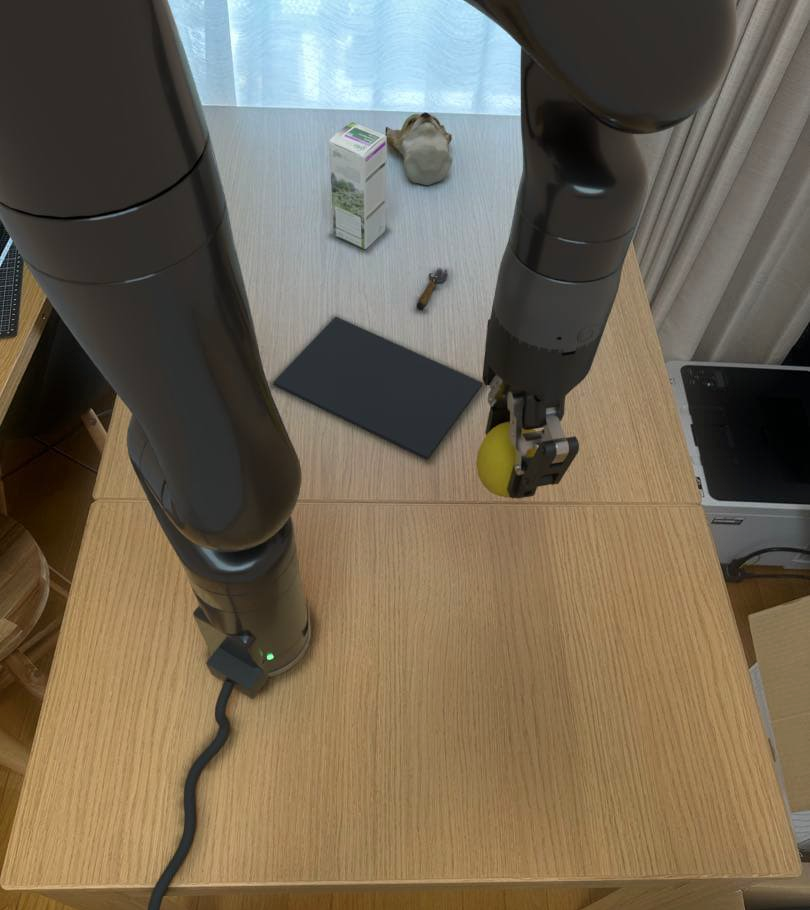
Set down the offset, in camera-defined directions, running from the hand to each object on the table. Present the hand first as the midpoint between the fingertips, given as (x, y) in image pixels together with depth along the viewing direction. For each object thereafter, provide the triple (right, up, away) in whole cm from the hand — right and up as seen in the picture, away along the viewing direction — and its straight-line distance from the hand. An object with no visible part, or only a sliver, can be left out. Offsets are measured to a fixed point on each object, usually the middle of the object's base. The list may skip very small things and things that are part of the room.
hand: (508, 464), depth 62 cm
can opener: (-5, +28, +40) cm, 49 cm away
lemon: (0, -2, +3) cm, 4 cm away
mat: (-12, +13, +30) cm, 35 cm away
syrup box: (-15, +38, +46) cm, 62 cm away
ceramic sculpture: (-6, +53, +56) cm, 77 cm away
